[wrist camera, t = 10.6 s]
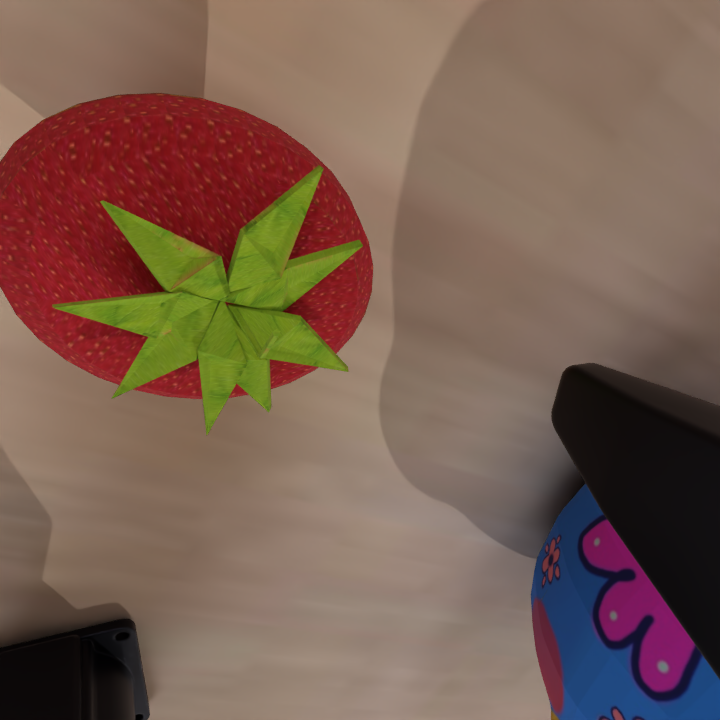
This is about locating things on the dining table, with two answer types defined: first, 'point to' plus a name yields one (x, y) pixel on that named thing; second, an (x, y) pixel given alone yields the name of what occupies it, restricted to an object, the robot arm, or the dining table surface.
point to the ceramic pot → (611, 630)
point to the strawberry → (180, 248)
